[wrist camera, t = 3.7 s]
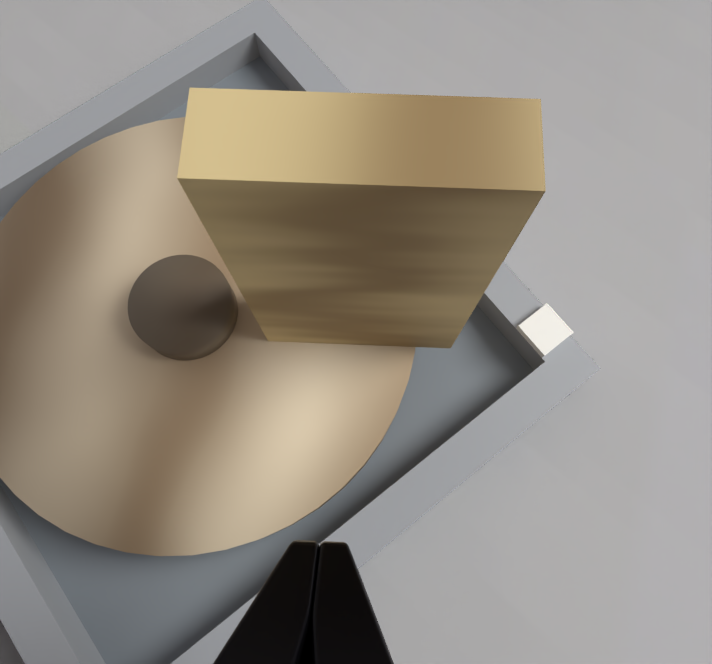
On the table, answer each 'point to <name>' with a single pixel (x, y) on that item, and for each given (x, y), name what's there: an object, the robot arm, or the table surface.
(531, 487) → the table surface
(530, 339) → the bezel plate
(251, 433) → the beige disc with bar
